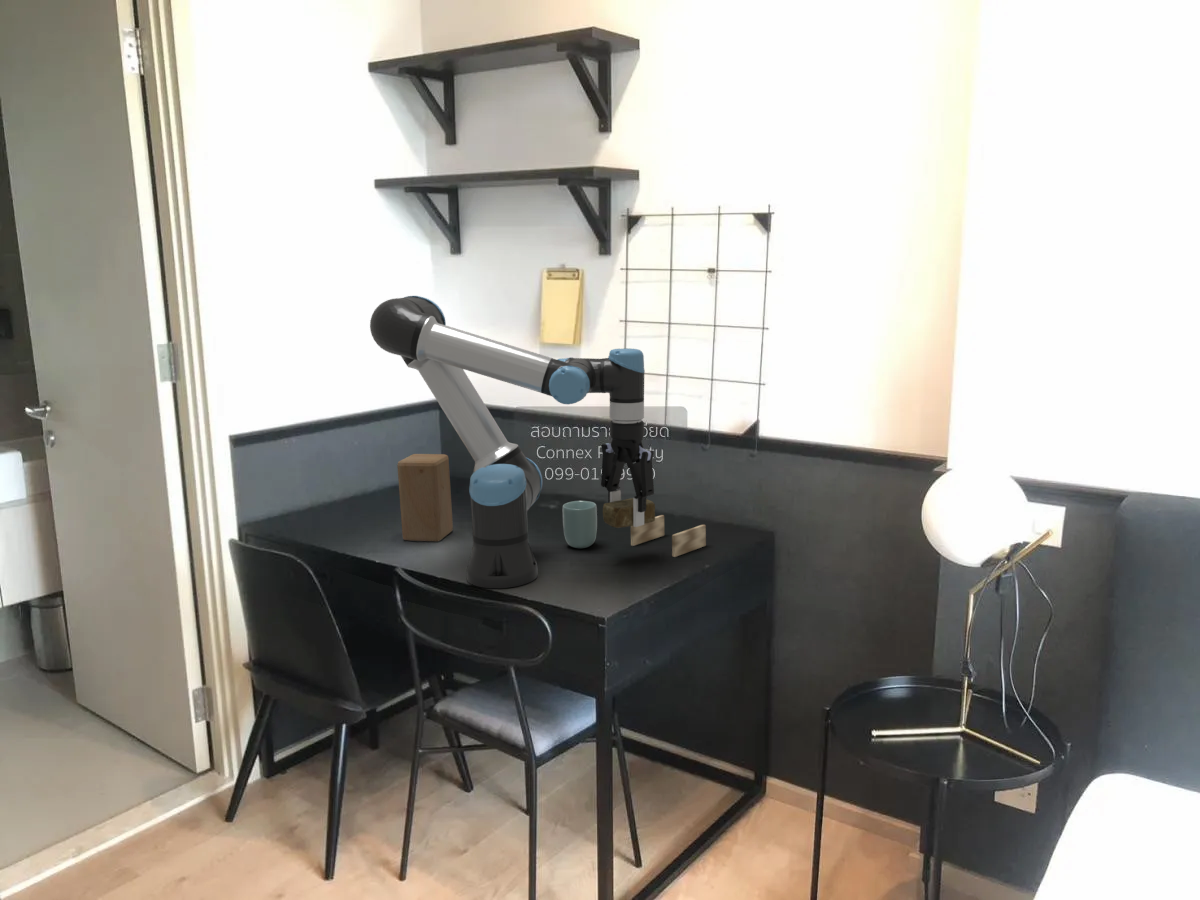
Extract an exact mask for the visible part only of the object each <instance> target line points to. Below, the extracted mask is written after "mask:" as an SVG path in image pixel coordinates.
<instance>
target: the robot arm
mask: <svg viewBox="0 0 1200 900" xmlns="http://www.w3.org/2000/svg"><path fill="white" fill-rule="evenodd" d="M369 321H370V323H369V328H370V329H369V330H370V333H371V337H372V338H373V340H374V342H375V344H377V346H378V347H379V348H380V349H381V350H383V351H385V352H387V353H389V354H392V355H397V356H400V357H401V359H402V360H403V362H404V363H405V365H406V367H408V368H411V369H413V370H417V371H418V372H419V375H421V377H422V379H423V381H424V382H425V383H426V385H427V387H428V388H429V390H430V393H432V394H433V397H434V398H435V400H436V402H438V405H439V406H440V408H441V409H442V411H443V412H444V414H445V416H446V418H447V419H448V420H449V422H450V424H451V425H452V427H453V429H454V430H455V431H456V433H457V435H458V436H459V438H460V440H461V441H462V443H463V444H464V446H465V447H466V450H467V451H468V453H469V454H470V456H471V457H472V460H473V461H474V468H473V472H472V473H471V476H470V478H469V479H470V480H469V487H468V490H469V492H468V493H469V496H470V509H471V510H470V511H471V525H472V526H471V527H472V530H471V531H472V540H473V541H472V547H471V552H470V555H469V560H468V563H467V567H466V580H467V582H468V583H469V584H471V585H472V584H473V586H475V587H479V588H486V589H507V588H508V589H509V588H515V587H519V586H523V585H526V584H529V583H531V582H533V581H534V580H535V579H537V578H538V575H539V572H538V571H539V570H538V568H539V567H538V563H537V560H536V558H535V555H534V552H533V549H532V547H531V544H530V542H529V534H528V528H529V527H528V511H529V510H530V508H531V507H532V506H533V505H534V504H535V503H536V502H537V501H538V499H539V497H540V496H541V495H540V494H541V492H542V489H543V475H542V472H541V469H540V467H538V465H537V464H536V462H534V460H532V459H530V458H528V457H526V456H525V454H524V453H523V450H522V449H521V447H520V446H519V444H517V443H512V442H509V441H508V440H507V438H506V436H505V435H504V433H503V432H502V429H500V427H499V425H498V423H497V422H496V420H495V419H494V417H493V415H492V414H491V412H490V410H489V408H488V407H487V405H486V404H485V403H484V401H483V399H482V398H481V396H480V395H479V392H478V391H477V389H476V387H475V386H474V385H473V383H472V382H471V380H470V378H469V376H468V375H467V373H466V372H465V371H468V372H471V373H475V374H478V375H481V376H485V377H488V378H491V379H495V380H497V381H501V382H504V383H507V384H510V385H511V384H512V385H513V386H518V387H520V388H524V389H528V390H531V391H534V392H538V393H540V394H543V395H546V396H549V397H552V398H553V399H554V400H555V401H556V402H557V403H559V404H563V405H573V404H576V403H578V402H580V401H582V400H584V398H586V396H587V395H588V394H609V419H610V420H611V421H610V422H609V437H610V439H611V442H608V443H603V444H601V453H602V459H601V460H602V461H601V462H602V463H601V477H600V479H601V480H600V486H601V487H602V488H605V489H606V490H607V495H608V498H607V499H608V502H607V503H609V502H614V501H620V500H622V492H621V491H622V490H620V489H621V487H620V486H619V485H620V481H621V478H622V475H623V471H624V466H625V464H626V465H627V468H628V469H629V471H630V475H631V480H632V484H633V487H634V492H635V496H633V497H632V498H633V526H634V527H638V526H641V525H644V511H646V499H647V498H648V497H649V496H653V495H654V494H655V489H654V474H653V472H654V471H653V458H654V451H653V450H652V449H651V450H647V449H646V448H644V444H643V439H644V438H645V422H644V421H643V419H644V418H645V360H644V359H645V356H644V353H643V351H642V350H641V349H637V348H613V349H610V351H609V355H608V357H605V358H586V357H585V358H580V357H565V358H562V357H561V358H557V359H556V358H553V357H549V356H546V355H543V354H541V353H537V352H534V351H530V350H527V349H523V348H520V347H516V346H514V345H511V344H508V343H504V342H502V341H498V340H495V339H491V338H488V337H485V336H481V335H479V334H475V333H471V332H468V331H464V330H461V329H458V328H455V327H451V326H449V325H446V317H445V315H444V312H443V310H442V309H441V307H440V306H439V305H438V304H437V303H436V302H434V300H431V299H430V298H427V297H424V296H421V295H420V296H419V295H407V296H404V297H397V298H391V299H386V300H384V301H383V302H382V303H380V304H379V305H378V306H377V307H376V308H375V309H374V311H373V313H372V315H371V318H370V320H369Z"/></svg>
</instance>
